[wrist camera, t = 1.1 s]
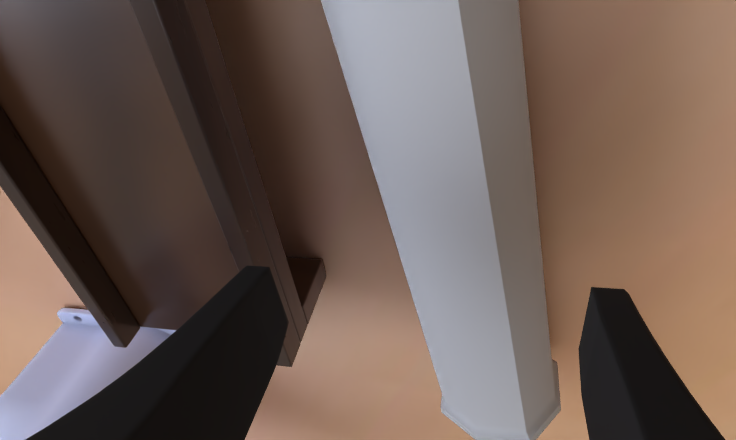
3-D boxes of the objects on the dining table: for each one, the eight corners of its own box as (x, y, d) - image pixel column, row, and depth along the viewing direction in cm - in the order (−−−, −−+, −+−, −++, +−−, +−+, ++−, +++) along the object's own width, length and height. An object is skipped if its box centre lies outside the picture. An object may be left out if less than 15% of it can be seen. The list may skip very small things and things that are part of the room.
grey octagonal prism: (127, -389, 9) (422, 421, 23) (392, -652, 6) (542, 468, 20) (307, -361, 12) (468, 332, 26) (536, -517, 9) (576, 361, 23)
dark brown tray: (172, 266, 26) (113, 347, 23) (-211, -478, 12) (-572, -617, 8) (327, 276, 24) (291, 367, 20) (99, -618, 10) (-185, -905, 6)
